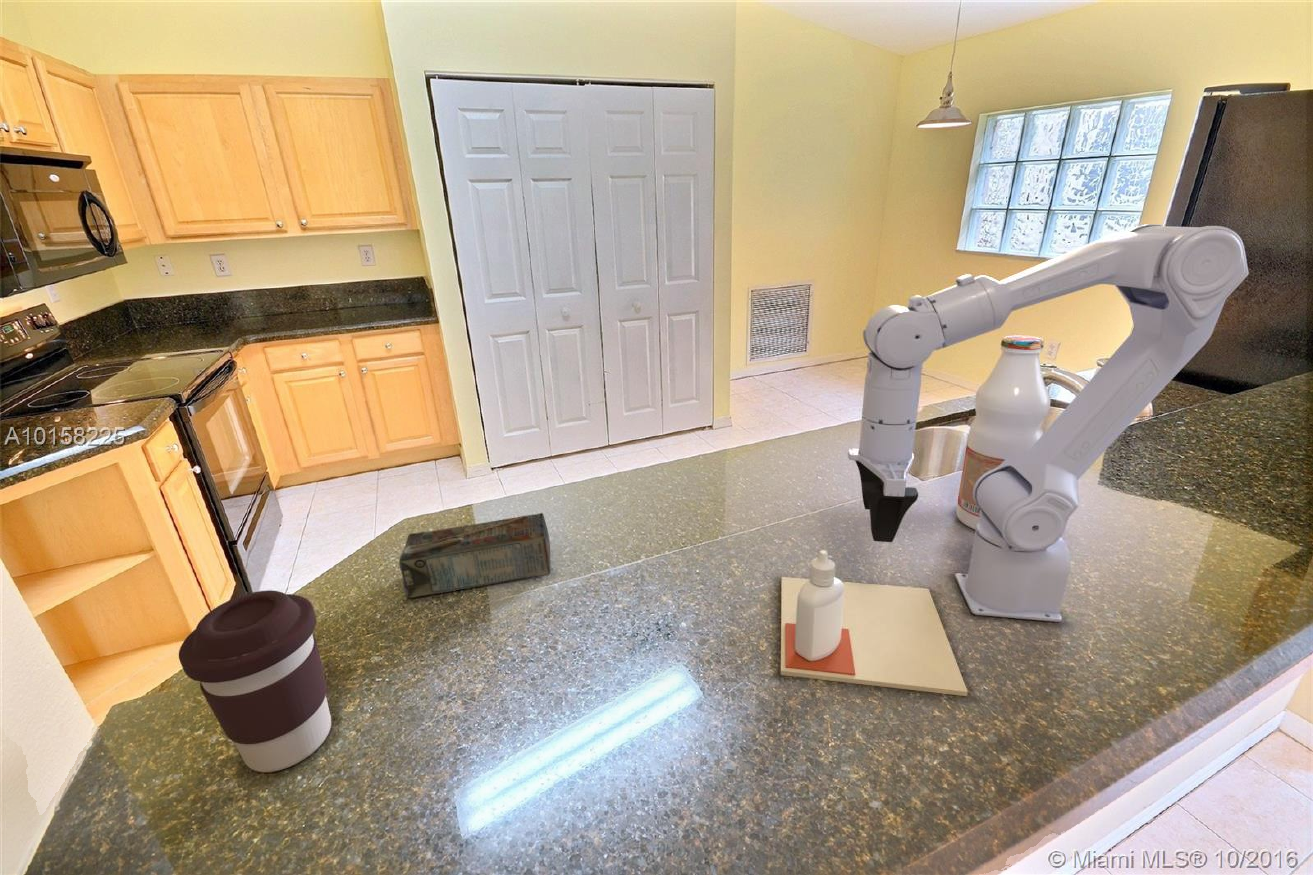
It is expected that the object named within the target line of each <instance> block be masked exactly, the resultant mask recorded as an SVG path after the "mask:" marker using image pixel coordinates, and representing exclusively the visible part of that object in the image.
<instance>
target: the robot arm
mask: <svg viewBox="0 0 1313 875" xmlns="http://www.w3.org/2000/svg"><path fill="white" fill-rule="evenodd" d="M1249 274H1250V272H1249V267H1248V262H1247V255H1246V250H1245V245H1244V242H1243V240H1242V238H1241V236H1239V234H1238V233H1237V232H1235V231H1234V230H1232V229H1231V228H1229V227H1225V226H1221V225H1205V226H1201V227H1199V226H1197V227H1196V226H1166V225H1165V226H1164V225H1161V224H1157V223H1156V224H1155V223H1146V224H1141V225H1138V226H1135V227H1133V228H1131V229H1128V230H1127V231H1119V232H1116V233H1115V232H1114V233H1111V234H1107V235H1105V236H1104V237H1101V238H1100V239H1098V240H1095V241H1093V242H1091V243H1088V244H1086V245H1084V246H1083V245H1082V246H1081V247H1079V248H1076V249H1074V250H1072V251H1069V252H1066V253H1064V254H1061V255H1060V256H1057V257H1055V258H1053V259H1050V260H1047V261H1045V262H1042V263H1040V264H1037V265H1035V266H1033V267H1030V268H1028V269H1026V270H1023V271H1021V272H1018V273H1016V274H1014V275H1012V276H1009V277H1006V278H1004V279H1002V280H1000V281H998V280H996V279H994V278H992V277H989V276H987V275H979V276H976V277H974V275H972V274H968V273H967V274H964V275H962V276H959V277H956V278H955V282H956V284H955V285H952V286H949V287H947V288H944V289H941V290H939V291H936V292H934V293H932V294H928V295H925V296H923V297H922V296H921V295H919V294H915V295H914V296H911V297H909V298H908V305H907V307H906V306H903V305H901V306H900V305H897V304H895V305H889V306H885V307H883V308H881V309H879V310H877V311H876V312H875V313H874V315H873V316H872V317H870V319H869V320H868V322H867V324H866V326H865V329H863V330H862V340H863V343H864V344H865V347H867V349H868V350H869V352H868V356H867V363H866V368H867V369H866V374H865V377H864V387H863V398H862V410H861V422H860V434H859V446H858V447H857V448H849V449H848V450H847V457H848V459H849V460H850V461H854V462H855V464H856V466H857V469H858V473H859V478H860V485H861V494H862V503H863V506H864V510H869V520H870V532H871V537H872V540H873V542H881V543H893V541H894V540H895V537H896V535H897V533H898V531H899V528H900V526H901V523H902V521H903V518H904V517H905V516H906V513H907V512H908V510H910V508H911V507H912V506H913V505H914V504H915V502H917V500H918V498H919V492H918V490H917V487H912V486H911V487H910V486H907V476H908V474H909V472H910V470H911V468H912V466H913V464H914V460H915V454H914V453H913V452H914V445H915V437H916V436H915V435H916V428H917V419H918V412H919V405H920V404H919V403H920V395H921V388H922V374H923V365H924V363H925V362H926V361H927V360H928V359H929V358H930V357H931V356H932V354H933V353H934V351H939V350H942V349H945V348H948V347H951V346H954V345H956V344H959V343H962V342H964V341H965V342H966V341H967V340H970V339H973V338H976V337H979V336H982V335H985V334H988V333H991V332H992V331H996V330H999V329H1001V328H1002V326H1004V325H1005V323H1006V321H1007V319H1008V318H1009V317H1010V315H1011V313H1012V312H1015V311H1018V310H1021V309H1024V308H1028V307H1030V306H1033V305H1037V304H1040V303H1043V302H1046V301H1049V300H1052V299H1057V298H1059V297H1060V298H1061V297H1062V296H1066V295H1069V294H1073V293H1075V292H1078V291H1082V290H1085V289H1089V288H1092V287H1095V286H1098V285H1110V286H1115V287H1116V289H1117V291H1118V292H1119V294H1120V295H1121V297H1122V298H1123V299H1124V301H1125V302H1126V303H1127V305H1128V306H1129V310H1130V315H1131V319H1132V324H1133V330H1132V332H1131V333H1130V334H1129V335H1128V336H1127V338H1126V339H1125V340H1123V342H1121V344H1120V346H1119V347H1118V348H1116V350H1115V351H1114V353H1112V354H1111V356H1110V357H1109V358H1108V359H1107V361H1106V362H1105V363H1103V365H1102V366H1101V367H1100V369H1098V371H1097V372H1096V373H1095V374H1094V375H1093V377H1092V378H1091V379H1090V380H1089V381H1088V382H1087V383H1086V385H1084V387H1083V388H1082V389H1081V390H1080V391H1079V393H1078V394H1077V395H1076V396H1075V397H1074V398H1073V400H1072V401H1070V403H1069V404H1068V405H1067V406H1066V408H1065V409H1063V411H1062V412H1061V413H1060V414H1059V416H1058V417H1057V418H1055V420H1054V421H1053V422H1052V424H1051V425H1050V426H1049V427H1048V428H1047V429H1046V431H1044V432H1043V433H1044V434H1043V435H1042V436H1041V437H1040V439H1039V440H1038V441H1037V442H1036V443H1035V444H1034V445H1033V447H1032V448H1031V449H1030V450H1027V451H1024V452H1020V453H1016V454H1012V455H1009V456H1008V457H1007V458H1006V459H1005V460H1004V462H1003V463H1002V464H1000V465H999V466H998V467H996V468H994V469H992V470H990V471H988V472H986V473H985V474H983V475H982V476H981V477H980V478H979V479H978V480H977V482H976V484H975V486H974V489H973V498H974V501H975V503H976V505H977V506H978V507H979V508H980V509H981V511H980V516H979V520H978V522H977V526H976V530H975V532H974V537H973V542H972V549H971V553H970V560H969V566H968V571H967V573H961V572H960V573H959V572H957V573H955V575H954V579H955V580H956V582H957V584H958V586H959V588H960V591H961V594H962V595H963V597H964V599H965V601H966V604H967V605H968V608H969V610H970V612H971V613H972V614H973V615H976V616H987V617H997V618H1009V619H1021V620H1032V621H1044V622H1055V623H1061V622H1062V620H1063V617H1062V615H1061V608H1062V605H1063V601H1064V597H1065V593H1066V589H1067V585H1068V581H1069V577H1070V574H1071V573H1070V572H1071V555H1070V551H1069V548H1068V546H1067V543H1066V542H1065V540H1064V539H1063V538H1062V536H1063V535H1064V532H1065V530H1066V526H1067V523H1068V521H1069V518H1070V517H1071V516H1072V515H1073V513H1074V512H1075V511H1076V510H1077V509H1078V508H1079V504H1080V501H1079V486H1078V483H1079V482H1078V481H1079V480H1080V479H1081V477H1082V476H1083V475H1084V474H1085V473H1086V472H1087V471H1088V470H1089V469H1090V467H1091V466H1092V465H1093V464H1094V463H1095V462H1096V461H1097V460H1098V459H1099V458H1100V457H1101V456H1102V455H1103V454H1104V452H1106V450H1107V449H1108V448H1109V447H1110V446H1112V444H1113V443H1114V442H1115V441H1116V440H1117V439H1118V438H1119V437H1120V436H1121V435H1122V433H1123V432H1125V430H1126V429H1127V428H1128V427H1129V426H1130V425H1131V424H1132V423H1133V422H1134V421H1135V420H1136V418H1138V417H1139V415H1140V414H1141V413H1142V412H1143V411H1144V410H1145V409H1146V408H1147V407H1148V406H1149V404H1150V403H1152V401H1153V400H1154V399H1155V398H1157V396H1158V395H1159V394H1160V393H1161V392H1162V391H1163V390H1164V389H1165V388H1166V386H1167V385H1168V384H1170V382H1171V381H1173V379H1174V378H1175V377H1176V376H1177V375H1178V373H1180V372H1181V370H1182V369H1183V368H1184V367H1185V366H1186V365H1187V364H1188V363H1189V362H1190V361H1191V360H1192V359H1193V358H1194V357H1195V355H1196V354H1198V352H1199V351H1200V350H1201V349H1202V348H1203V347H1204V346H1205V345H1206V344H1207V342H1208V341H1209V340H1210V338H1211V336H1212V335H1213V333H1214V330H1215V327H1216V325H1217V322H1218V320H1219V318H1220V315H1221V313H1222V310H1223V309H1224V305H1225V302H1226V300H1227V298H1228V297H1230V296H1231V294H1232V293H1233V292H1234V291H1235V290H1236V289H1237V288H1238V286H1240V285H1241V284H1242V282H1244V280H1245V279H1246V278H1247V277H1248V275H1249Z"/></svg>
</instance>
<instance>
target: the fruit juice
mask: <svg viewBox="0 0 1313 875" xmlns="http://www.w3.org/2000/svg"><path fill="white" fill-rule="evenodd" d="M1044 344H1045V341H1044V339H1043V338H1041V337H1038V336H1033V335H1023V334H1022V335H1019V334H1016V335H1015V334H1013V335H1006V336H1003V337H1002V339H1001V342H1000V350H1001V354H1000V357H999V358H998V360H997V362H996V364H995V366H994V368H993V369H992V371H991V373H990V374H989V376H988V377H987V379H986V380H985V381H984V382H983V383H982V384H981V385H980V386H979V387H978V389H977V391H976V393H975V396H974V409H975V417H974V420H973V421H972V422H971V423H970V424H971V425H970V428H969V430H968V434H967V439H966V446H965V453H964V458H963V464H962V469H961V470H962V471H961V477H960V483H959V490H958V496H957V502H956V516H957V519H958V520H959V521H960V522H961V523H962V524H964V526H965V525H966V526H967V527H968V528H970V529H973V530H975V531H976V526H977V522H978V520H979V516H980V511H981V509H980V508H979V507H978V506H977V505H976V503H975V501H974V498H973V489H974V486H975V484H976V482H977V480H978V479H979V478H980V477H981V476H982V475H983V474H985V473H986V472H988V471H990V470H992V469H994V468H996V467H998V466H999V465H1000V464H1002V463H1003V462H1004V460H1005V459H1006V458H1007V457H1008V456H1009V455H1012V454H1016V453H1020V452H1024V451H1027V450H1030V449H1031V448H1032V447H1033V445H1034V444H1035V443H1036V442H1037V441H1038V440H1039V439H1040V437H1041V436H1042V435H1043V434H1044V433H1045V432H1044V430H1043V423H1044V420H1045V419H1046V417H1047V415H1048V414H1049V412H1050V408H1051V401H1052V400H1051V395H1050V392H1049V390H1048V389H1047V387H1046V383H1045V381H1044V376H1043V371H1042V367H1041V361H1040V354H1041V353H1042V352H1043V349H1044Z"/></svg>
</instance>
